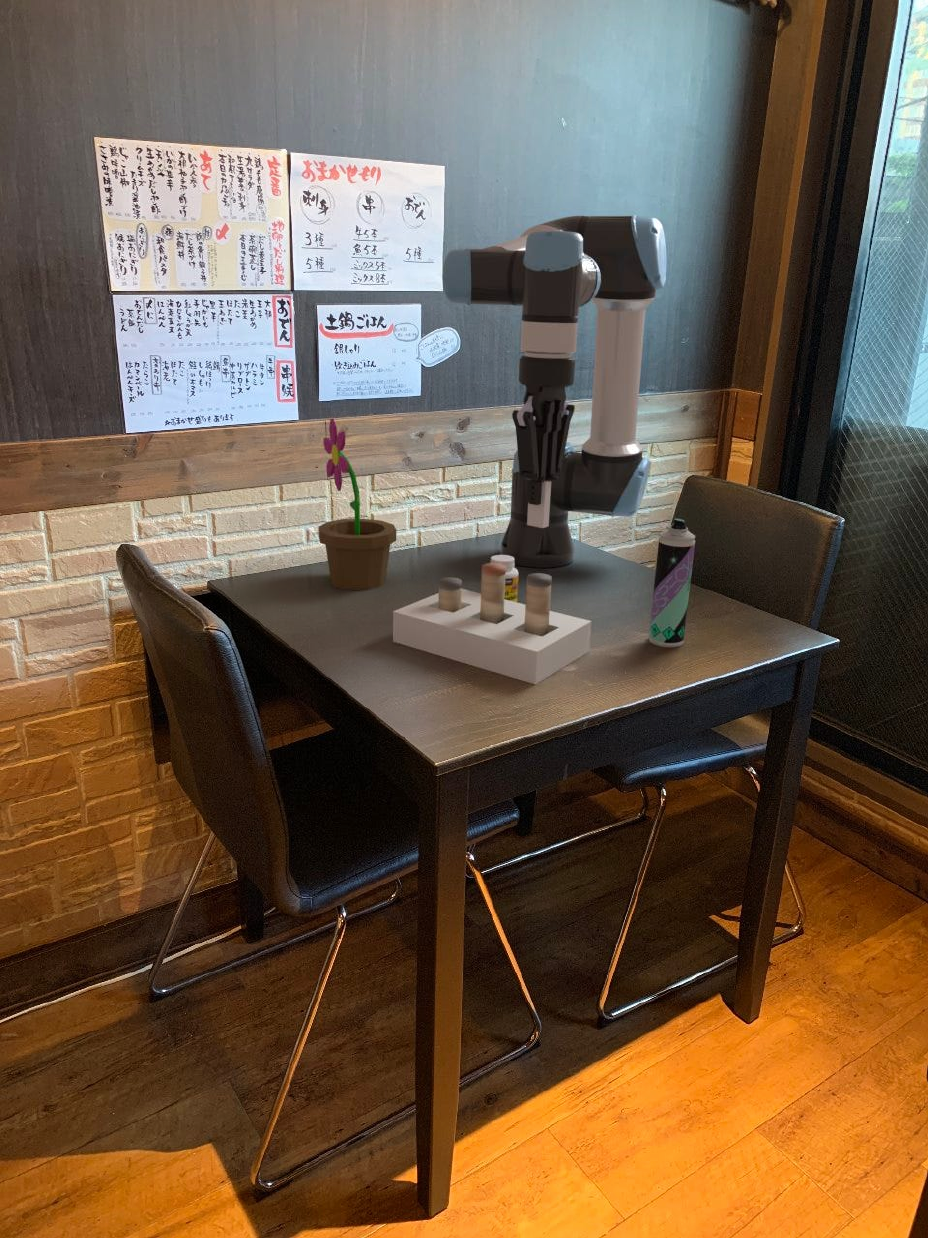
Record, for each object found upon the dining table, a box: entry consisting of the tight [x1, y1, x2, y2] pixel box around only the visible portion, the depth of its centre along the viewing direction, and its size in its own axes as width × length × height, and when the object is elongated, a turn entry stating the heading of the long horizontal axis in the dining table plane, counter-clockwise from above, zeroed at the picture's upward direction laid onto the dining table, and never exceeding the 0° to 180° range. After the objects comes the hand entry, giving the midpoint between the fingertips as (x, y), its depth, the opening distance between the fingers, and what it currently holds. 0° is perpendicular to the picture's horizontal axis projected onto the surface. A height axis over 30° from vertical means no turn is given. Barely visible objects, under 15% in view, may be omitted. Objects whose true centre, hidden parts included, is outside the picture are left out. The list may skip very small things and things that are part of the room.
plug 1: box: [438, 576, 463, 613], centre depth 147 cm, size 4×4×9 cm
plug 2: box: [480, 562, 506, 624], centre depth 142 cm, size 4×4×9 cm
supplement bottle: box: [490, 554, 519, 603], centre depth 156 cm, size 6×6×10 cm
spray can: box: [648, 517, 696, 648], centre depth 146 cm, size 6×6×20 cm
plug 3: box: [524, 572, 553, 637], centre depth 137 cm, size 4×4×9 cm
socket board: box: [392, 588, 593, 685], centre depth 144 cm, size 16×26×5 cm, turn 55°
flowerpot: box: [318, 418, 397, 591], centre depth 168 cm, size 14×14×30 cm
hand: (537, 525), depth 133 cm, fingers closed
